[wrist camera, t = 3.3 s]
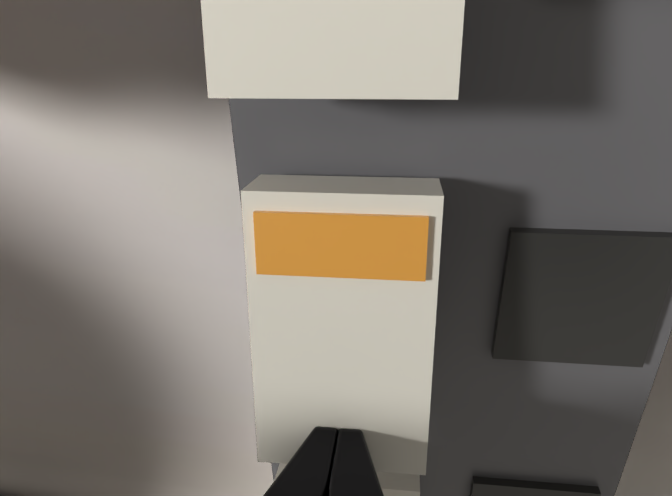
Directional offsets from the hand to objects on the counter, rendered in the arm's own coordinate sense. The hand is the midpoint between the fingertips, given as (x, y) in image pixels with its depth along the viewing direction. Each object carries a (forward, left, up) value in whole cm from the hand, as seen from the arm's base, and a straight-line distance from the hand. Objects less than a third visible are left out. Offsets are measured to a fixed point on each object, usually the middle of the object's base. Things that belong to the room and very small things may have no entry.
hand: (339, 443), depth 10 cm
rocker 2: (+2, 0, -1) cm, 2 cm away
